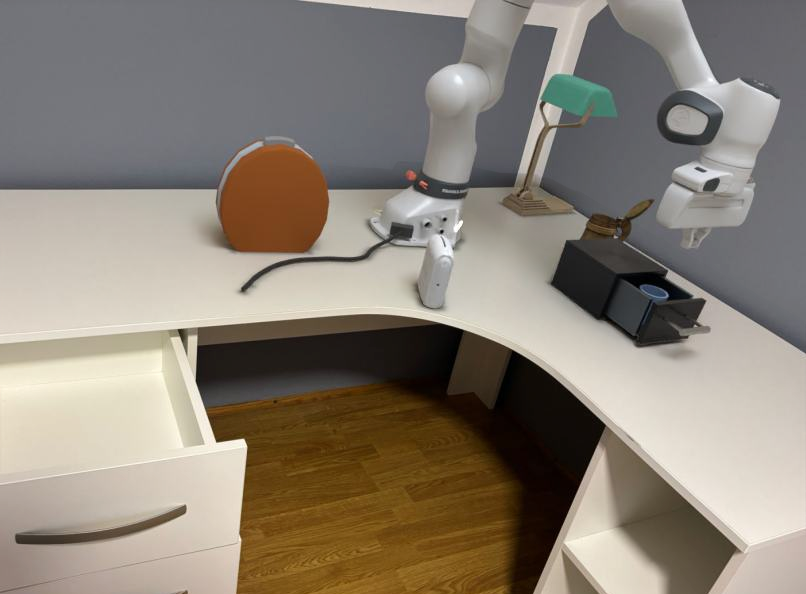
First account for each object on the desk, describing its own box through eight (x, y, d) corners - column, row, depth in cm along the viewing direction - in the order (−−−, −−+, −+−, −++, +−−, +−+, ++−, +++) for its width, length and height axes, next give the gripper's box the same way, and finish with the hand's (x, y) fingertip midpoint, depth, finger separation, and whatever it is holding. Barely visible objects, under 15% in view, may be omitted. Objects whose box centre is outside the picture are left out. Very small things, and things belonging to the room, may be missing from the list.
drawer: (709, 353, 137) (729, 314, 132) (660, 360, 131) (680, 320, 126) (636, 303, 152) (652, 266, 147) (590, 307, 146) (605, 269, 141)
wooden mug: (628, 277, 166) (658, 205, 156) (571, 263, 167) (597, 191, 158) (623, 262, 173) (652, 193, 164) (569, 249, 175) (594, 180, 165)
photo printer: (443, 310, 136) (459, 252, 129) (422, 307, 135) (437, 249, 129) (435, 285, 144) (449, 230, 138) (415, 283, 144) (428, 227, 137)
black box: (648, 314, 150) (668, 270, 144) (597, 319, 143) (616, 273, 138) (599, 280, 161) (616, 238, 156) (550, 283, 155) (566, 239, 150)
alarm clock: (310, 233, 157) (325, 132, 145) (322, 253, 149) (339, 148, 137) (211, 230, 149) (218, 124, 137) (218, 251, 141) (226, 140, 130)
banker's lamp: (493, 198, 199) (530, 70, 181) (546, 196, 209) (586, 74, 191) (530, 221, 188) (573, 87, 170) (584, 217, 198) (630, 90, 180)
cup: (622, 313, 143) (634, 285, 140) (641, 311, 146) (653, 283, 142) (641, 327, 139) (654, 298, 136) (661, 325, 142) (674, 297, 138)
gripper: (743, 170, 131) (712, 238, 138) (666, 169, 122) (637, 242, 130) (772, 182, 127) (738, 252, 134) (695, 182, 118) (663, 257, 125)
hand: (688, 247), depth 132 cm, fingers closed
